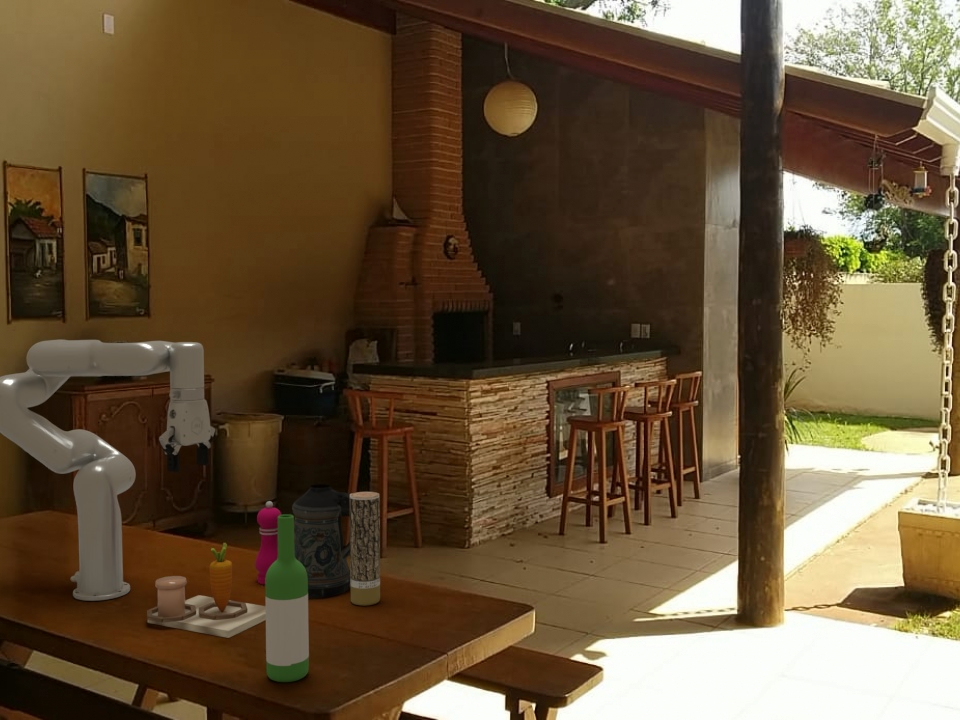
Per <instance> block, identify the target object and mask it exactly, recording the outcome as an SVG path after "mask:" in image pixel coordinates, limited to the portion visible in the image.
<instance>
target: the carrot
mask: <svg viewBox="0 0 960 720" xmlns="http://www.w3.org/2000/svg"><path fill="white" fill-rule="evenodd" d="M227 547H228V544H227V543H226V542H223V543H222V549H221V550H220V551H218V552H217V550H216V549H215V548H213V547H211V549H210V551H211V552H212V554H213V555H214V557H215V559H216V560H213V561H211V563H210V564H209V567H208V568H209V583H210V589H211V593H212V597H213V598H214V601H215V603H216V605H217V607H218V609H219V610H220V611H221V612H223V611H224V610H225V608H226V606H227V604H228V601H229V600H230V598H231V595H232V594H231V593H232V587H233V562H232V561H231V560H227V559H225V556H226V553H227V549H228V548H227Z"/></svg>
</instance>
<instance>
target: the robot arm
mask: <svg viewBox="0 0 960 720" xmlns="http://www.w3.org/2000/svg"><path fill="white" fill-rule="evenodd" d="M204 354H205V351H204V346H203V344H202V343H200V342H196V341H195V342H193V341H177V342H172V341H167V340H165V341H164V340H151V341H141V342H118V343H117V342H102V341H101V340H99V339H78V340H77V339H74V340H67V339H50V340H41V341H39V342H36V343H35V344H33V345H32V346H31V347H30V348H29V350H28V351H27V354H26V364H27V366H28V369H27V371H25V372H19V373H12V374H5V375H2V376H1V375H0V434H2V435H3V437H6V438H7V439H9V440H10V441H11V442H13V443H14V444H16V445H17V446H18V447H20V448H21V449H22V450H23V451H24V452H26V453H28V454H29V455H30V456H31V457H33V458H34V459H36V460H37V461H38V462H40V463H41V464H42V465H44V466H45V467H46V468H48V470H50V471H52V472H54V473H56V474H62V475H63V474H69V473H72V472H75V471H77V473H76V474H75V476H74V478H73V484H72V485H73V495H74V499H75V503H76V510H77V525H78V526H77V529H78V554H79V555H78V559H79V570H78V571H75V573H74V575H71V577H70V581H71V582H72V583H73V582H74V583H76V587H75V589H73V591H72V596H73V598H75V599H76V600H79V601H89V602H95V601H107V600H111V599H117V598H120V597H123V596H125V595H127V594H128V593H129V592H130V591H131V585H130V583H128V582H126V581H124V570H123V568H124V567H123V560H124V559H123V531H122V530H123V527H122V526H123V525H122V523H123V522H122V513H121V512H122V511H121V507H120V503H119V501H118V495H120V494H122V493H124V492H126V491H127V490H129V489H131V487H132V486H133V484H134V483H135V480H136V469H135V466H134V464H133V462H132V461H131V460H130V459H129V458H128V457H126V456H125V455H124V454H123V453H121V452H120V451H119V450H118V449H116V448H115V447H113V446H112V445H110V444H109V443H108V442H107V441H105V440H104V439H103V438H101V437H100V436H98V435H97V434H96V433H93V432H91V431H90V430H89V431H88V430H86V429H72V430H69V431H65V430H63V429H61V428H59V427H58V426H57V425H55V424H53V423H52V422H51V421H49V420H48V419H47V418H45V417H44V416H42V415H40V414H39V413H36V412H34V411H32V410H30V409H29V408H33V407H37V406H39V405H41V404H43V403H45V402H46V401H48V399H49V398H51V397H52V396H53V395H54V393H55V392H57V390H58V389H60V388H61V387H62V385H64V384H65V383H66V382H67V381H68V379H70V378H71V377H105V376H107V377H115V376H116V377H122V376H123V377H129V376H131V377H133V376H135V377H136V376H138V377H139V376H150V375H154V374H161V373H166V372H169V382H170V383H169V385H170V386H169V387H170V389H169V390H170V391H169V395H168V396H169V398H170V401H169V404H168V410H167V419H166V430H165V432H163V433H162V434H161V435H160V436H159V438H158V441H159V442H160V445H161V449H163V451H164V454H165V455H166V463H167V464H166V467H167V468H166V469H167V472H169V473H170V472H172V473H179V472H180V471H181V464H180V459H181V456H180V454H179V451H180V449H181V448H182V446H192V445H197V446H198V447H196V465H199V466H209V465H210V454H209V453H210V448H211V447H212V445H211V444H212V443H213V440H214V435H215V432H216V428H215V427H214V426H212V425H211V420H210V419H211V418H210V412H209V411H210V410H209V406H208V402H207V400H206V399H205V364H204V363H205V361H204V360H205V359H204V357H205V355H204Z"/></svg>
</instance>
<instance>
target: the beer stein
mask: <svg viewBox="0 0 960 720" xmlns="http://www.w3.org/2000/svg"><path fill="white" fill-rule="evenodd" d="M291 509H292V513H293V514H292V515H293V516H294V552H295V558H296V559H297V560H298V561H299V562H300V563H302V565H303V566H304V567H305V569H306V572H307V577H308V599H325V598H326V599H327V598H332V597H335V596H340V595H344V593H346V592H347V591H349V589H350V588H351V585H350V565H349V564H348V560H347V557H350V541H349V542H348V543H347V544H346V545H345V542H344V533H343V525H342V521H341V519H342V517H350V494H349V493H348V492H342V491H337V490H335V489H334V487H332V486H331V484H330V485H329V484H311V485H310V487H309V488H308V490H306V492H304V493H303V494H302V495H301V496H300V497H299V498H297V499H296V500H294V502H293V504H292V506H291Z"/></svg>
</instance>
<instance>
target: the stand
mask: <svg viewBox="0 0 960 720" xmlns="http://www.w3.org/2000/svg"><path fill="white" fill-rule="evenodd" d="M146 618H147V623H148V624H153V625H158V626H164V627H168V628H174V629H179V630H184V631H190V632H195V633H200V634H206V635H211V636H216V637H222V638H227V639H229V638H232V637H233V636H236V635H238V634H240V633H243V632H244V631H247V630H249V629H250V628H252V627H255V626H256V625H259V624H261V623H262V622H264V621H265V622H266V605H260V604H254V603H248V602H242V601H237V600H236V601H235V600H230V599H229V601H228V604H227V606H226V608H225V610H224V611H223V612H221V611H220V610H219V609H218V607H217V605H216V603H215V601H214V598H213V596H212V597H211V596H206V595H201V594H200V595H199V594H198V595H196V596H193V597H190V598H188V599H185V614H183V615H181V616H172V617H160V616H158V605H157V606H154V607H152V608H150V609H147V610H146Z"/></svg>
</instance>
